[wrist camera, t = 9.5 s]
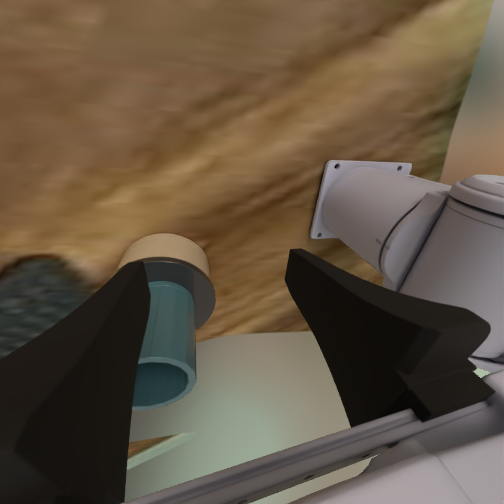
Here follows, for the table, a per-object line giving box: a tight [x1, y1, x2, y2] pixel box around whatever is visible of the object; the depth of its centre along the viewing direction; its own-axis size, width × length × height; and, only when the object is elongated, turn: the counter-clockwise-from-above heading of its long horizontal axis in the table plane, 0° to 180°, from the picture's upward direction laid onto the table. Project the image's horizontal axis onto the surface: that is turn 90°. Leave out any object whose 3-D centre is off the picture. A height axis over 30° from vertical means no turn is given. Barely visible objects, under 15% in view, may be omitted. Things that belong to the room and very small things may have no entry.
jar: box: [106, 233, 216, 330], centre depth 20 cm, size 9×9×5 cm
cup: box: [132, 281, 196, 411], centre depth 15 cm, size 5×5×6 cm
